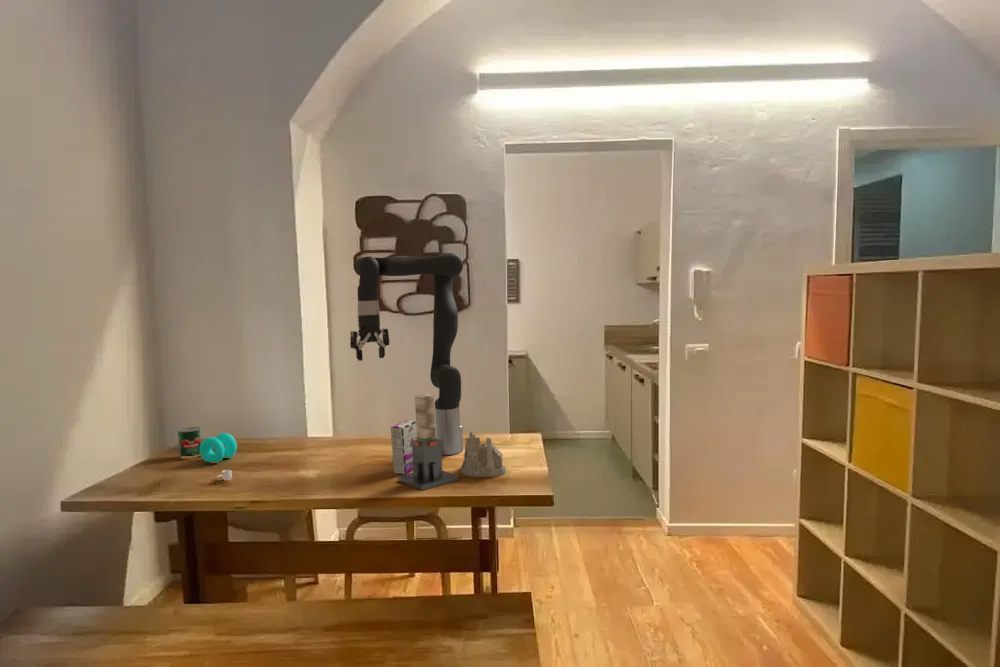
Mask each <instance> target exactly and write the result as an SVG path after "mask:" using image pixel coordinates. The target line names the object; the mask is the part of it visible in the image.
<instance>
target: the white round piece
mask: <svg viewBox="0 0 1000 667" xmlns="http://www.w3.org/2000/svg"><path fill="white" fill-rule="evenodd" d="M232 472H233V471H232V469H224V470H222V471H221V474H219V475H217V476H216V477H219V476H222V478H223V479H224V480H230V479H231V478H233V473H232ZM231 480H232V479H231Z"/></svg>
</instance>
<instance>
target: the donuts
mask: <svg viewBox="0 0 1000 667" xmlns="http://www.w3.org/2000/svg"><path fill="white" fill-rule="evenodd" d="M237 449H238V444H237V441H236V439H235V437H234V436H233V435H232V434H230V433H228V432H221V433H219V434H217V435H216V436H215V437H214V436H209V437H207V438H205V439H204V440H202V441H201V446H200V454H201V458H202V460H204V462H206V461H208V462H218V463H220V462H221V461H222V460H223V457H231V458H232V457H233V456H235V454H236V453H237V451H238V450H237ZM219 461H220V462H219Z"/></svg>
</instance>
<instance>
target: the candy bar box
mask: <svg viewBox="0 0 1000 667" xmlns="http://www.w3.org/2000/svg"><path fill="white" fill-rule="evenodd" d="M390 434H391V449H392V451H391V454H392V467H393V474H396V475H406V474H410V472H413V456H412V440H415V439H416V437H417V431H416V419H414V420H413V419H411V420H410V419H405V420H404V421H402V422H399V423H397V424H395V425H393V426H391V427H390Z"/></svg>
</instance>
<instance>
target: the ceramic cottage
mask: <svg viewBox="0 0 1000 667" xmlns="http://www.w3.org/2000/svg"><path fill="white" fill-rule="evenodd" d="M485 439H486V440H485V441H486V442H484V443H481V438H480V436H479V437H478V436H477V437H476V434H475V433H474V434H473V431H472V430H471V431H469V436H468V437H465V445H464V454H463V461H462V464H461V466H460V468H461V469H460V470H461V474H462V475H463V476H466V477H471V478H472V477H474V478H477V477H478V478H479V477H480V478H495V477H496V476H498V477H502V476H504V474H505V475H506V474H507V469H506V466H505V465H503V456H504V454H503V453H502V452H501V451H500V450H499V449H498V448H497V447H496V445H494V443H493V442H492V438H491V437H486V438H485ZM501 475H502V476H501Z"/></svg>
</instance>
